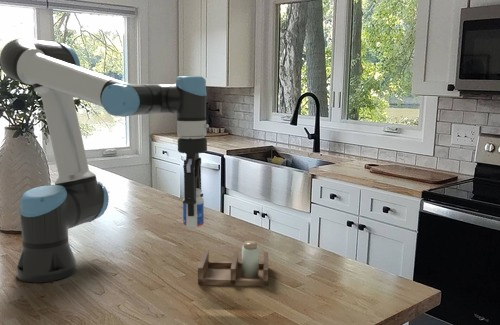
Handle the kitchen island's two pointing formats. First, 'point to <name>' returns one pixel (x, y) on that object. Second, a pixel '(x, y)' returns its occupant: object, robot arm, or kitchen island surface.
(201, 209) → the pill bottle
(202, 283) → the rack
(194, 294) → the kitchen island surface
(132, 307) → the kitchen island surface
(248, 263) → the jar
